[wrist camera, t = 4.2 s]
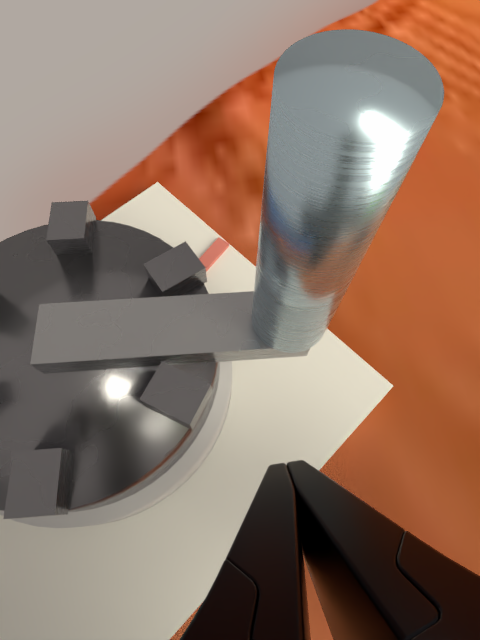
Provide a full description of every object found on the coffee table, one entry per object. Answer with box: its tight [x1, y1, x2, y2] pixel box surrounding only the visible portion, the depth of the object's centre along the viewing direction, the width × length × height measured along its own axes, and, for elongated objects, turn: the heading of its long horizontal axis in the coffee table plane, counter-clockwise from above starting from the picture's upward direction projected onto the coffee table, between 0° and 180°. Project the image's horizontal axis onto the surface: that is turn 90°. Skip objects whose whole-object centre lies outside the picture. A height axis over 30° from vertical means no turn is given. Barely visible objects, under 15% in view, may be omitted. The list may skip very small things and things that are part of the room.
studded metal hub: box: [0, 30, 444, 519], centre depth 11 cm, size 15×11×12 cm
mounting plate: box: [0, 182, 393, 640], centre depth 18 cm, size 17×18×3 cm
